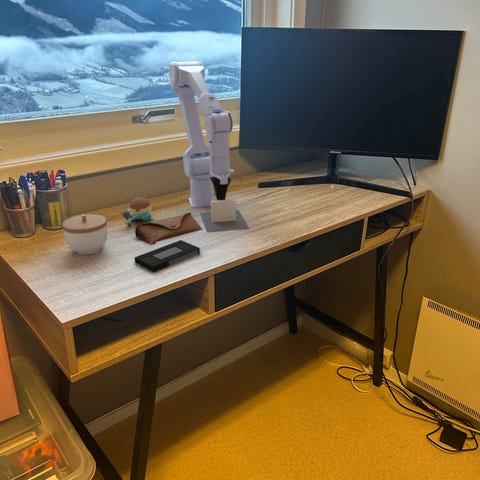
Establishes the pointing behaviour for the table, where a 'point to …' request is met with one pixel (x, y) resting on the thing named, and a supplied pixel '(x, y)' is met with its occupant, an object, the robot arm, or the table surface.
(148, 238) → the sunglasses case
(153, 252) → the vhs tape
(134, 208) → the figurine
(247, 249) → the table surface
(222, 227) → the mat
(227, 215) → the tile
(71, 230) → the lidded jar
